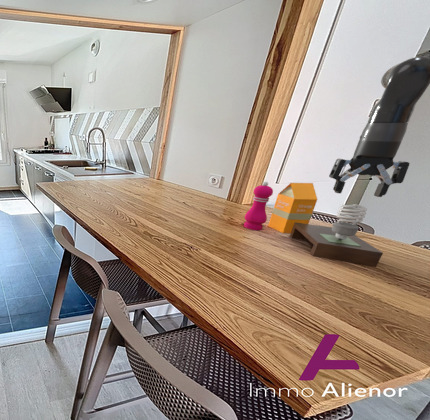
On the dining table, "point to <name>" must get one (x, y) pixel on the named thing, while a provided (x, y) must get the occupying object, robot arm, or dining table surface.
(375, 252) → the shelf
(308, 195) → the orange juice
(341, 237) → the light bulb
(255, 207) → the pepper mill
